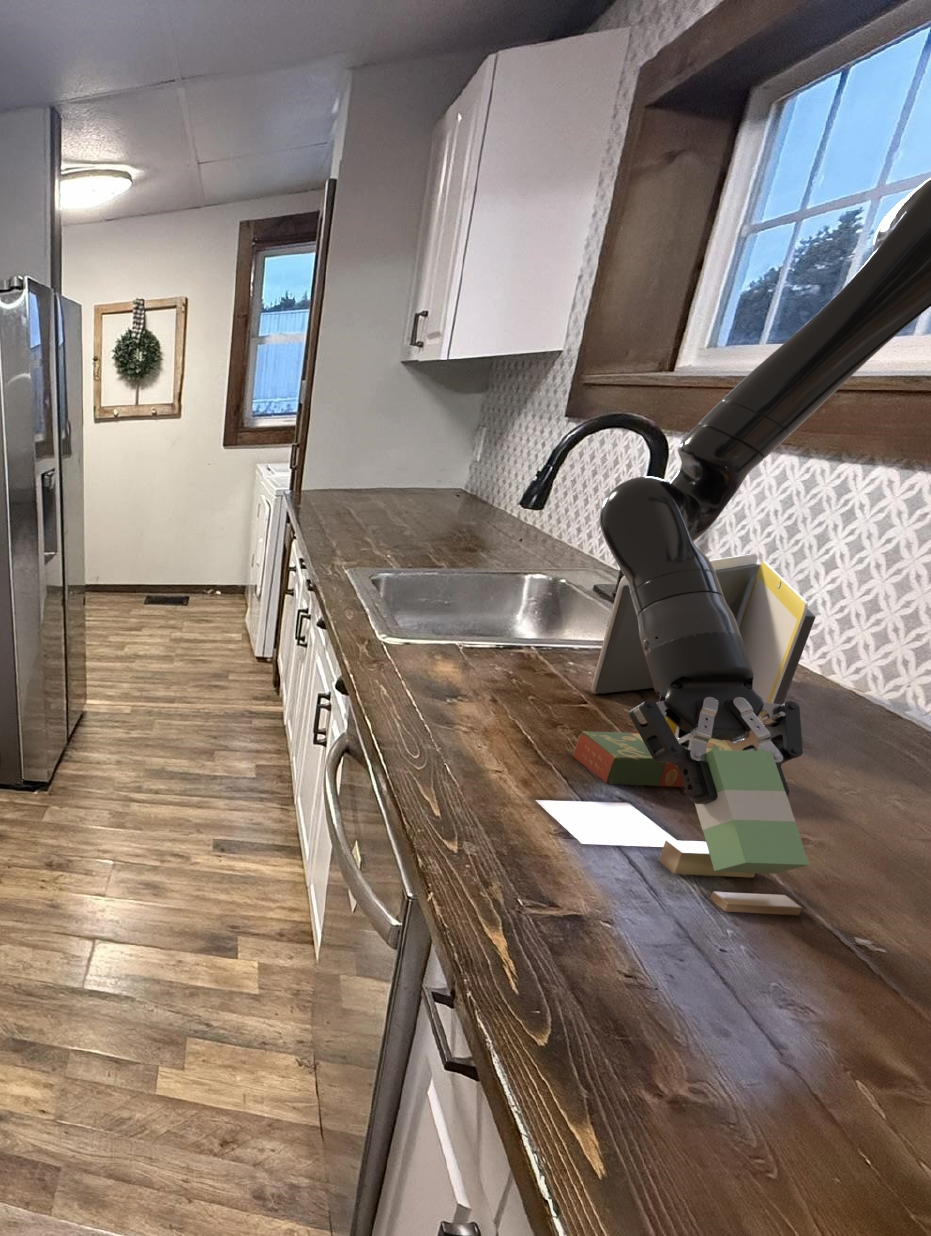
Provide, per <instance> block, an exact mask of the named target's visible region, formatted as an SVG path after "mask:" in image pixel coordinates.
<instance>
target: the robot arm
mask: <svg viewBox="0 0 931 1236" xmlns="http://www.w3.org/2000/svg"><path fill="white" fill-rule="evenodd" d="M872 244H873V246H872V252H873V253H872V255H871V256H870V257H869V258H868V260H866V262H865V263H864V265H863V266H861V268H860V269H859V270H858V271H857V272H856V273H855V275H854V276H853V277H852V278H851V279H850V280H849V281H848V282H847V283H846V284H845V286H843V287H842V288H841V289H840V291H839V292H837V294H835V296H834V297H832V299H831V300H829V302H828V303H827V304H826V305H824V307H822V308H821V309H820V310H819V312H818V313H816V314H815V316H813V317H812V318H811V319H810V320H808V322H807V323H805V324H804V325H803V326H802V327H801V328H800V329H798V331H796V332H795V333H794V334H793V335H792V336H791V337H789V339H787V340H786V341H785V342H784V343H782V345H780V346H779V347H778V348H777V349H776V350H774V352H772V353H771V354H770V355H769V356H768V357H766V358H765V359H764V360H763V361H762V362H761V363H760V364H759V365H757V366H756V367H755V368H754V369H753V370H752V371H750V373H748V374H747V375H746V376H745V377H744V378H742V380H741V381H740V382H739V383H738V384H737V385H735V387H734V388H732V390H730V391H729V392H728V393H727V394H726V395H725V396H724V397H723V398H722V399H721V400H720V401H719V402H718V403H717V404H716V405H715V406H714V407H713V408H712V409H711V410H710V411H709V412H708V413H707V414H706V415H705V416H704V417H703V418H702V419H701V420H700V421H699V422H698V423H697V425H694V427H693V428H692V429H691V430H690V431H689V432H688V433H687V434H686V436H685V437H684V438H683V439H682V440H681V441H680V443H679V446H678V450H677V451H678V456H679V458H680V461H681V464H680V467H679V469H678V471H677V472H676V474H675V475H674V476H673V478H672V479H671V481H668V480H666V479H663V478H661V477H655V476H637V477H633V478H630V479H627V480H625V481H623V482H621V483H620V484H618V485H617V486H615V487H614V488H613V489H612V490H611V491H610V492H609V493H608V494H607V496H606V497H605V498H604V500H603V502H602V504H601V507H600V511H599V526H600V530H601V534H602V536H603V539H604V541H605V543H606V545H607V547H608V549H609V551H610V553H611V554H612V557H613V559H614V560H615V562H616V564H617V566H618V568H619V569H620V571H621V572H622V574H623V576H625V578H626V580H627V582H628V584H629V588H630V594H631V598H632V601H633V604H634V608H635V611H636V615H637V618H638V624H639V635H640V640H641V644H642V647H643V650H644V654H645V657H646V661H647V665H648V668H649V672H650V675H651V679H652V682H653V686H654V688H653V689H654V692H655V693H656V695H657V696H659V700H658V701H654V700H652V699H646V700H645V701H643V702H642V703H640V704H638V705H636V706H635V707H634V708H632V709H630V710H629V711H628V716H629V718H630V720H631V721H632V723H633V725H634V727H635V729H636V730H637V733H639V734H640V736H641V738H642V740H643V741H644V743H645V745H646V747H647V749H648V751H649V752H650V754H651V756H652V758H653V759H654V760H655V761H657V762H664V761H665V762H668V763H672V764H674V765H675V766H676V767H677V768H679V770H680V773H681V776H682V780H683V783H684V787H683V788H684V789H685V790H684V791H685V794H686V795H687V796H688V798H689V799H692V801H693V803H694V805H695V804H707V803H710V802H712V801H715V800H716V799H717V797H718V795H717V791H716V787H715V784H714V781H713V777H712V774H711V771H710V767H709V764H708V762H702V760H704V758H705V753H706V747H707V743H708V741H709V740H710V739H711V738H713V739H718V740H725V741H726V743H727V744H728V745H729V746H730V748H731V749H732V750H738V751H772V754H773V757H774V760H775V763H776V766H777V769H778V772H779V775H780V778H781V781H782V784H783V787H784V790H785V792H786V795H787V798H788V797H789V796H790V789H789V786H788V783H787V781H786V778H785V774H784V771H783V768H782V764H784V763H786V762H789V761H791V760H794V759H797V758H800V757H801V756H803V753H804V752H803V737H802V723H801V709H800V705H799V704H798V703H797V702H795V701H791V700H790V701H786V702H784V703H783V704H781V705H780V704H774V703H768V702H763V700H762V698H761V697H760V696H759V695H758V694H757V693H756V692H755V691H754V689H753V686H752V684H753V677H754V672H753V669H752V667H751V664H750V661H749V658H748V655H747V652H746V649H745V646H744V643H743V640H742V637H741V634H740V631H739V629H738V626H737V623H736V620H735V617H734V615H733V613H732V611H731V610H730V608H729V606H728V605H727V603H726V601H725V598H724V595H723V592H722V589H721V586H720V584H719V581H718V578H717V575H716V572H715V570H714V567H713V566H712V564H711V562H710V560H711V559H709V558H708V556H707V555H706V554H704V553H703V551H701V550H700V549H699V548H698V547H697V545H696V544H695V543H694V542H695V541H696V540H698V539H699V538H700V537H701V536H703V535H704V534H705V533H706V532H707V530H708V529H710V528H711V527H712V525H713V523H715V521H716V520H717V519H718V517H720V515H721V514H722V512H724V510H725V508H726V506H727V505H729V503H730V501H731V500H732V499H733V497H734V496H735V494H736V493H737V492H738V491H739V489H740V488H741V486H742V485H743V483H744V481H745V479H746V478H747V477H748V475H749V474H750V473H751V471H753V469H755V468H756V467H757V466H758V465H760V464H761V463H762V462H763V461H764V459H766V458H767V457H768V456H769V455H770V454H771V453H773V452H774V451H775V450H776V449H777V448H778V447H779V446H780V445H782V443H783V442H784V441H785V440H787V439H788V438H789V437H790V436H791V435H793V434H794V432H795V431H796V430H797V429H798V428H799V427H801V426H802V424H804V423H805V422H806V421H807V420H808V419H809V418H810V417H811V416H812V415H813V414H814V413H815V412H816V411H817V410H819V408H820V407H821V406H823V404H825V402H826V401H827V400H829V399H830V398H831V397H832V396H833V395H834V394H835V393H836V392H837V391H838V390H839V389H840V388H841V387H842V386H843V385H844V384H845V383H846V382H847V381H849V380H850V378H851V377H852V376H853V375H855V373H856V372H858V370H860V369H861V368H862V367H863V366H864V365H865V364H866V363H867V362H868V361H869V360H870V359H872V358H873V357H874V356H875V355H876V354H877V353H878V352H879V351H881V350H882V348H884V347H885V346H886V345H887V344H888V343H889V342H890V341H892V340H893V339H894V338H895V337H896V336H897V335H898V334H900V333H901V332H902V331H903V330H904V329H905V328H907V327H908V326H909V325H910V324H911V323H912V322H914V321H915V320H916V319H917V318H918V317H920V316H921V315H922V314H923V313H924V312H925V311H927V310H929V308H931V177H930V178H928V179H927V180H925V181H924V182H923V183H922V184H920V185H919V186H918V187H917V188H916V189H914V190H913V191H912V192H910V193H909V194H908V195H906V196H905V197H904V198H903V199H901V200H900V201H899V202H898V203H897V204H896V205H895V206H894V207H893V208H892V209H891V210H890V211H889V212H888V213H887V214H886V216H884V217H883V219H882V221H881V222H880V224H879V226H878V228H877V230H876V232H875V236H874V239H873V243H872ZM758 715H760V716H761V717H762V720H763V721H760V720H759V719H758ZM666 717H667V718H668V719H670V720H671V721H672V722H673V723H674V724H675V725H677V727H676V733H675V735H674V733H673V732H672V730H671V728H670V726H669V725H668V723H667V721H666ZM764 725H766V727H765V726H764ZM747 733H749V735H748V736H747V737H746V738H744V737H743V735H745V734H747Z"/></svg>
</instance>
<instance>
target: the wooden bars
mask: <svg viewBox="0 0 931 1236" xmlns="http://www.w3.org/2000/svg"><path fill="white" fill-rule="evenodd" d="M658 862H659V863H660V864H662V865H663V866H664V867H665V868H666V869H668V870H669V871H670V872H671V873H672V874H674V875H688V876H691V875H692V876H712V877H735V878H736V877H737V878H755V875H756V873H745V872H720V871H714V868H713V864H712V861H711V857H710V854H709V850H708V847H707V843H706V841H700V840H698V841H697V840H677V839H676V840H666V841H665V843H664V846H663V848H662V850H661V852H660V855H659V858H658ZM709 899H710V900H711V901H712V902H713V903H714V904H716V906H718V907H719V908H720V909H722V910H723V911H724V912H728V913H729V912H731V913H746V914H747V913H749V914H767V915H768V914H769V915H786V916H787V915H789V916H800V914H801V912H802V909H803V907H802V906H801V905H800V904H798V903H797V902H796V901H795V900H794V899H791V898H790V897H789V896H787V895H785V894H771V893H750V892H749V893H748V892H729V891H727V892H726V891H712V893H711V896H710V898H709Z"/></svg>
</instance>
